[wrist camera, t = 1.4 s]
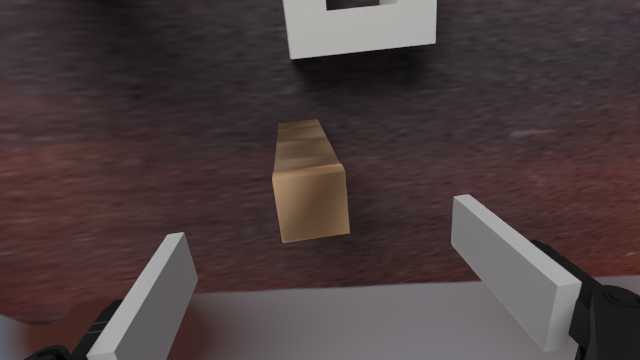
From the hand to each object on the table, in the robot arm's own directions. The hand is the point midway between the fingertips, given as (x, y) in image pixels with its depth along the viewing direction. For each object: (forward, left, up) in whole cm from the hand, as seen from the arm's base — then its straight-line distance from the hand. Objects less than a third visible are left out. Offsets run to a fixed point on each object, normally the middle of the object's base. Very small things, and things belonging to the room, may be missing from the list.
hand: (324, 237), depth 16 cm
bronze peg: (0, 0, -19) cm, 19 cm away
